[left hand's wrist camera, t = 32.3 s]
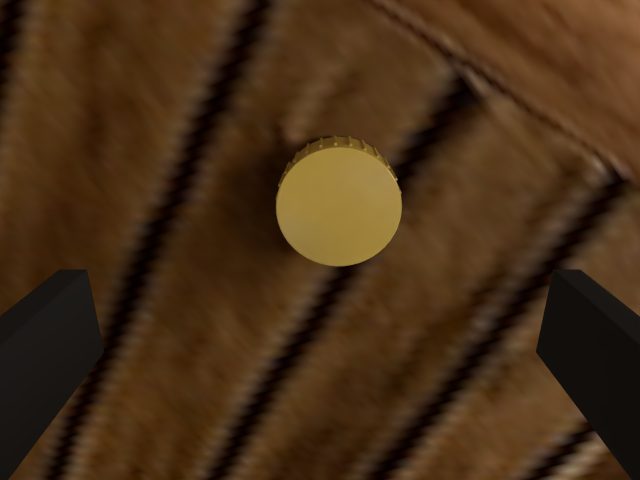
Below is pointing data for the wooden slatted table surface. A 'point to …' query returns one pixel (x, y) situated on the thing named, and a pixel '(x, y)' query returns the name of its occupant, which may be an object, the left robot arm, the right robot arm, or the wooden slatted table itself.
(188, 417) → the wooden slatted table surface
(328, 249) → the lid
